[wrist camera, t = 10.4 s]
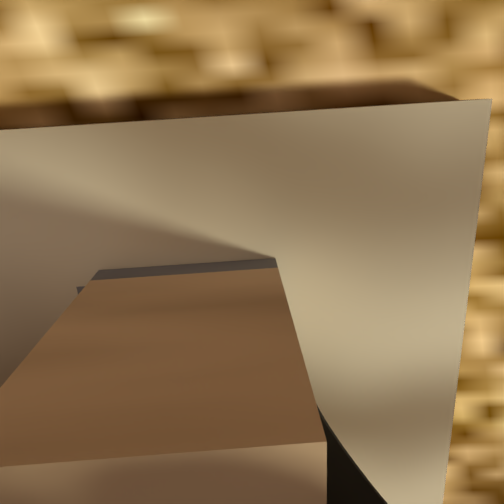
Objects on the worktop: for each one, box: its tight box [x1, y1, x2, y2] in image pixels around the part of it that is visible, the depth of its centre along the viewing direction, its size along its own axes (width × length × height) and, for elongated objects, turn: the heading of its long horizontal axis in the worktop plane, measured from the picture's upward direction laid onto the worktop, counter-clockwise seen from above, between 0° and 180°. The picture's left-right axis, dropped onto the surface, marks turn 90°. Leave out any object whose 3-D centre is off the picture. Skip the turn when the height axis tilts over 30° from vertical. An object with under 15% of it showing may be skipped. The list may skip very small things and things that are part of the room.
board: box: [0, 99, 492, 504], centre depth 11 cm, size 14×18×1 cm
